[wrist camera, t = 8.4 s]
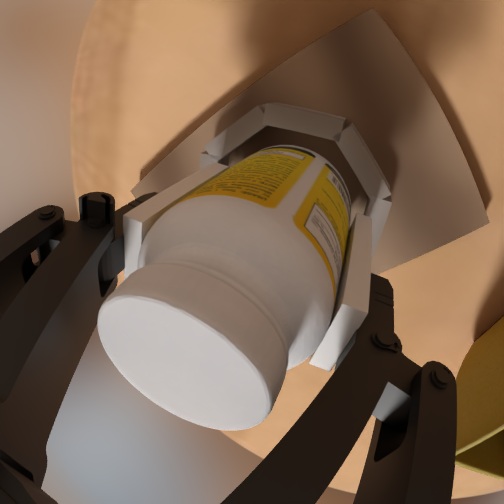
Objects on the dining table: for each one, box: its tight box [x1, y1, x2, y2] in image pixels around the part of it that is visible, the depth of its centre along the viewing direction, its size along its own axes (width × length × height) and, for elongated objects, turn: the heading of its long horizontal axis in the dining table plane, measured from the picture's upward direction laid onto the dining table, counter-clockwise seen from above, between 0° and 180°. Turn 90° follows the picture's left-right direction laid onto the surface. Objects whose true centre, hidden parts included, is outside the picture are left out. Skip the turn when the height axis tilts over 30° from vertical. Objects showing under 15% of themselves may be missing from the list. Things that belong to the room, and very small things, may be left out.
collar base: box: [131, 8, 489, 275], centre depth 16 cm, size 18×12×2 cm, turn 127°
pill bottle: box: [97, 145, 351, 430], centre depth 11 cm, size 6×6×11 cm
